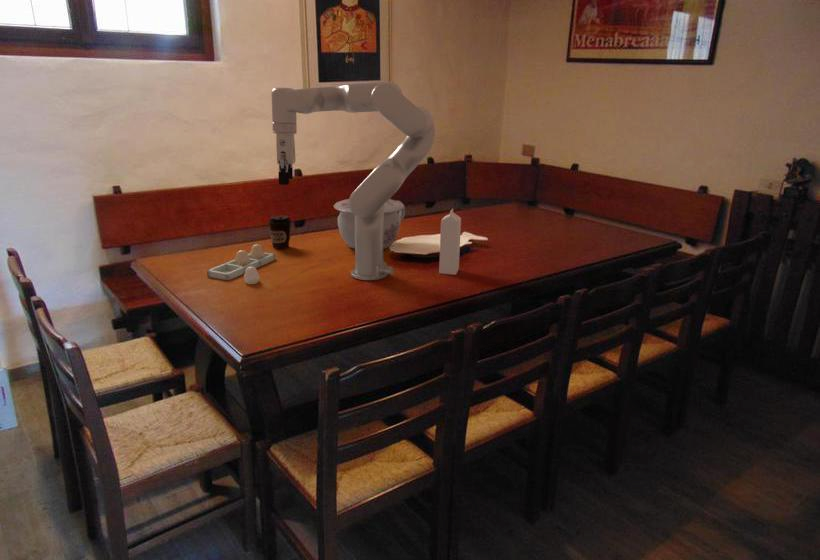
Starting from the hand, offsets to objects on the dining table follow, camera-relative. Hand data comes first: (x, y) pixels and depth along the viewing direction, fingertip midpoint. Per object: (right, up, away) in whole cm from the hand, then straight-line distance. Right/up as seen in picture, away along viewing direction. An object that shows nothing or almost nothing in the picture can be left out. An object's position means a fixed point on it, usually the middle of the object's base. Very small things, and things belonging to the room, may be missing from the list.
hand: (286, 181), depth 194 cm
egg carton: (-21, -28, +12) cm, 37 cm away
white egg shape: (-10, -34, -3) cm, 36 cm away
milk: (+55, -30, +13) cm, 63 cm away
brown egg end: (-14, -26, +16) cm, 33 cm away
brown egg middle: (-17, -28, +10) cm, 34 cm away
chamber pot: (+25, -19, +40) cm, 51 cm away
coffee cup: (-9, -21, +33) cm, 40 cm away
